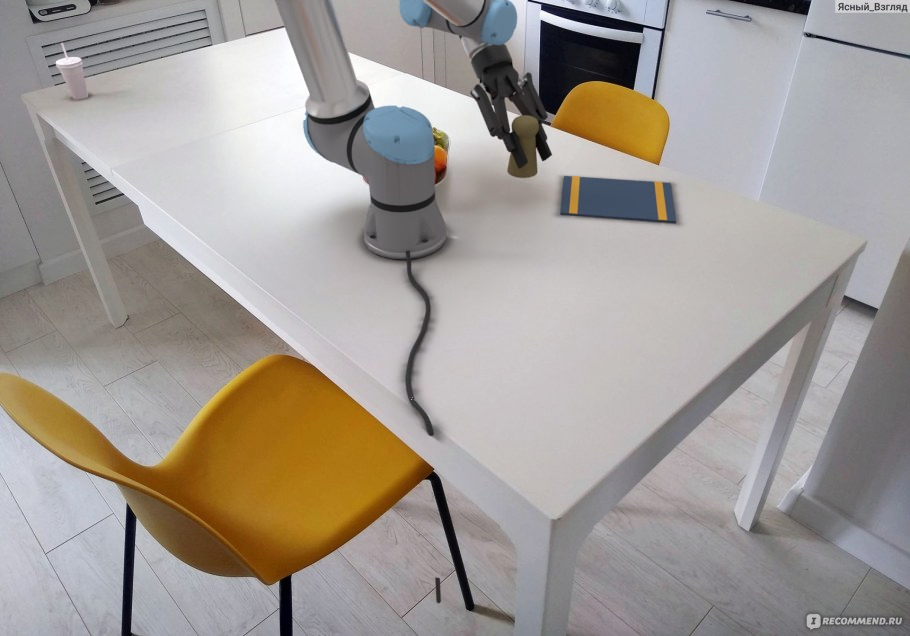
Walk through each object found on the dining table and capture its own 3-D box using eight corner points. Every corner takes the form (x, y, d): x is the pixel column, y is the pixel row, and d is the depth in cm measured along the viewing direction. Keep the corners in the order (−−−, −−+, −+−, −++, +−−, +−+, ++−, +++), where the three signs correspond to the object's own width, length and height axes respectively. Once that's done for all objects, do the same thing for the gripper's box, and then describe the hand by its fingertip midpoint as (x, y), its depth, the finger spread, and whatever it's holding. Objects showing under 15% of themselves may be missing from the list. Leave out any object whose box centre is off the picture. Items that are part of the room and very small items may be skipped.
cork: (535, 179, 138) (539, 125, 132) (505, 176, 139) (507, 122, 133) (539, 166, 143) (543, 113, 136) (509, 163, 144) (512, 110, 137)
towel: (675, 223, 136) (676, 220, 136) (560, 214, 139) (560, 212, 139) (670, 184, 149) (670, 182, 148) (564, 177, 152) (564, 175, 151)
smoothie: (89, 90, 196) (71, 38, 187) (96, 97, 192) (79, 44, 184) (64, 96, 193) (45, 43, 184) (72, 103, 189) (53, 49, 180)
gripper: (515, 54, 145) (561, 158, 144) (440, 71, 137) (488, 181, 136) (533, 33, 138) (581, 142, 137) (456, 49, 130) (506, 165, 129)
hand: (535, 161), depth 137 cm, fingers closed on cork, 5 cm apart
